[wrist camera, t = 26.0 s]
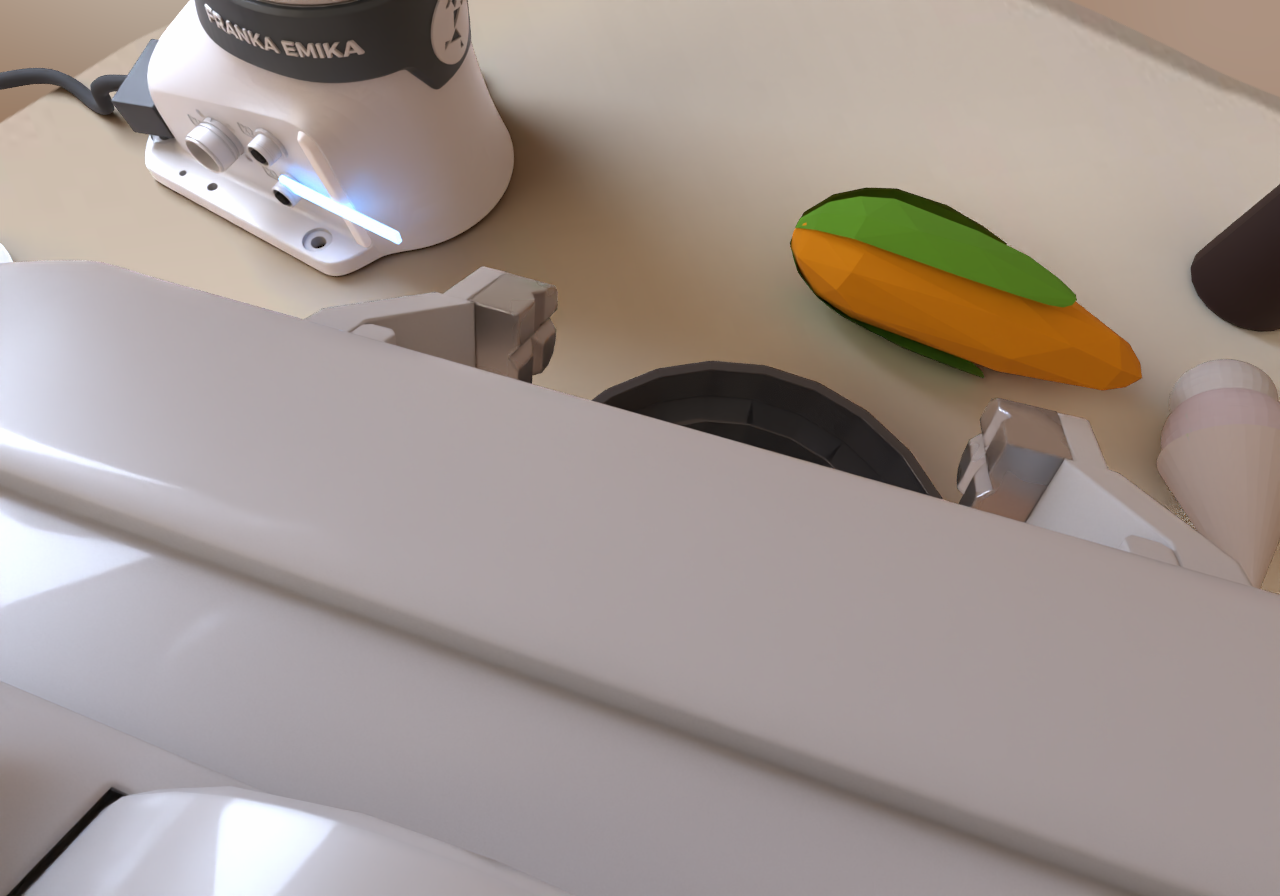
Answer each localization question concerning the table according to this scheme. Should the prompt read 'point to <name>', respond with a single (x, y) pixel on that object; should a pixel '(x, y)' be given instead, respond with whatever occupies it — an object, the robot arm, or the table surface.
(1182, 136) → the table surface
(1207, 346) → the table surface
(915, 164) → the table surface
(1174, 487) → the ice cream cone
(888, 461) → the bowl
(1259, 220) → the bottle
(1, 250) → the pudding
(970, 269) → the corn
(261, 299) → the table surface
